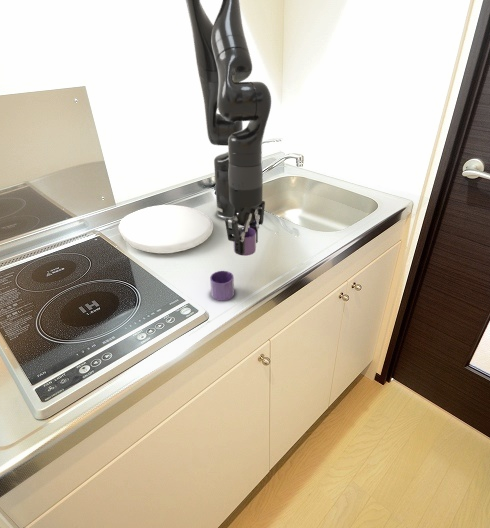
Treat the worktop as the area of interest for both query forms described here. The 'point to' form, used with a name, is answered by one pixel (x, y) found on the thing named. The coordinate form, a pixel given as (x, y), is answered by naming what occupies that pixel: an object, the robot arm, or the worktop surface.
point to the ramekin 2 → (248, 242)
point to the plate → (165, 228)
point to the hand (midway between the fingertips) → (246, 247)
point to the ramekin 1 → (222, 285)
